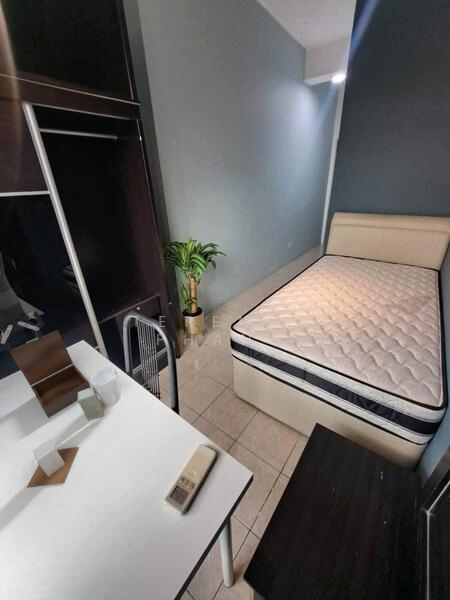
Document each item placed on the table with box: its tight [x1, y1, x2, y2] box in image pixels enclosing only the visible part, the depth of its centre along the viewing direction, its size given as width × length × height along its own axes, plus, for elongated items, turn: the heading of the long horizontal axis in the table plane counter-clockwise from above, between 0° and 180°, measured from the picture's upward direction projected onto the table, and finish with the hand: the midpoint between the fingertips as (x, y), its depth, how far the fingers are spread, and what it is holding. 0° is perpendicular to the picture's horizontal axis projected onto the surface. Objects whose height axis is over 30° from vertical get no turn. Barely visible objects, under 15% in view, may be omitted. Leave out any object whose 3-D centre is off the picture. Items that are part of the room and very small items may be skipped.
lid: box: [9, 330, 74, 387], centre depth 97 cm, size 16×16×5 cm
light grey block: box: [32, 438, 65, 477], centre depth 72 cm, size 4×4×8 cm
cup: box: [90, 367, 123, 406], centre depth 92 cm, size 9×9×12 cm
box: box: [76, 386, 105, 421], centre depth 86 cm, size 5×4×11 cm
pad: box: [26, 446, 80, 488], centre depth 74 cm, size 10×10×1 cm
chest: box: [30, 363, 92, 419], centre depth 96 cm, size 16×16×6 cm
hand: (25, 344), depth 85 cm, fingers open, 8 cm apart
